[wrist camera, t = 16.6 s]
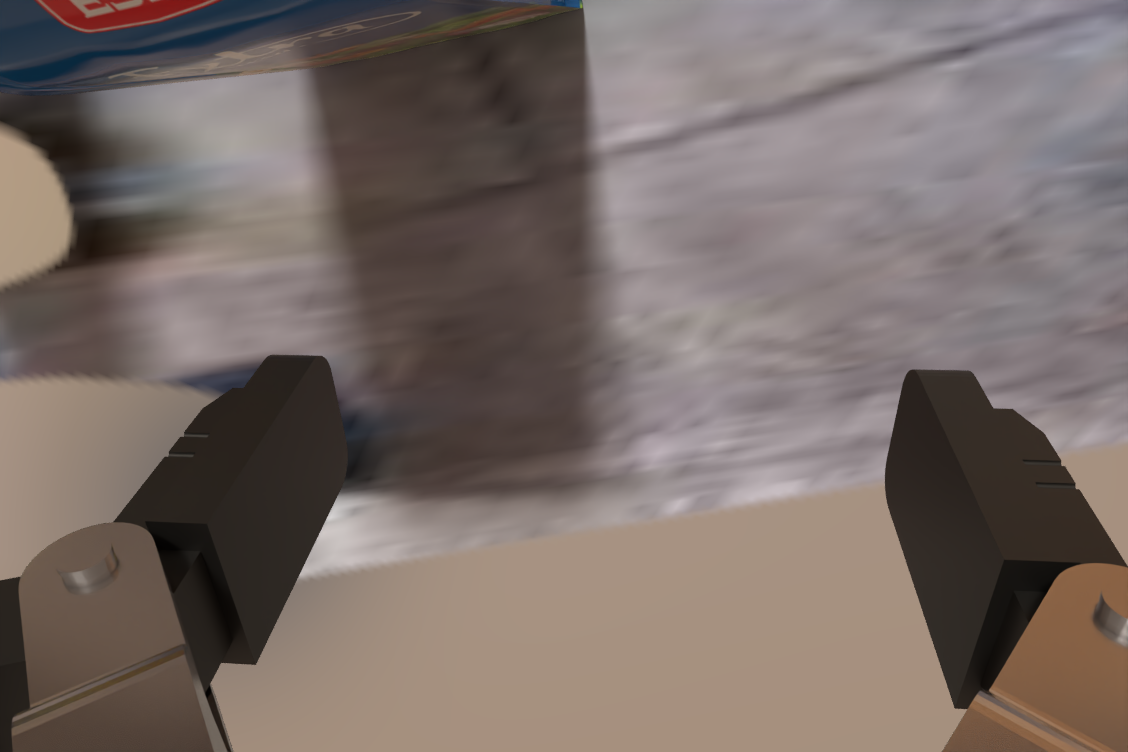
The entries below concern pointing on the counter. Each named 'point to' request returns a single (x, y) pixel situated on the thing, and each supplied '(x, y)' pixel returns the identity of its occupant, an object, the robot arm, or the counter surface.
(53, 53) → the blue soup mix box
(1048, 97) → the counter surface
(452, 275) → the counter surface
